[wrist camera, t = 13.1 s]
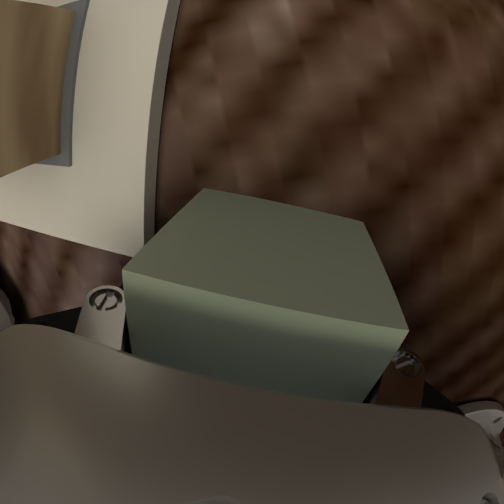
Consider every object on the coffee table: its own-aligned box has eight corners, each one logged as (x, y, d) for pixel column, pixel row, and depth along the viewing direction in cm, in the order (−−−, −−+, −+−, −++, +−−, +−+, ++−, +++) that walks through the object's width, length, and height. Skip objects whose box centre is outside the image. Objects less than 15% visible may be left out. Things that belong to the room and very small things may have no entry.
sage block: (362, 221, 11) (408, 330, 5) (319, 339, 14) (319, 454, 8) (204, 187, 11) (121, 269, 6) (193, 312, 14) (144, 416, 9)
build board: (200, -72, 6) (190, -86, 5) (154, 248, 13) (141, 262, 12) (7, -13, 7) (-8, -14, 6) (-7, 208, 13) (-20, 216, 12)
